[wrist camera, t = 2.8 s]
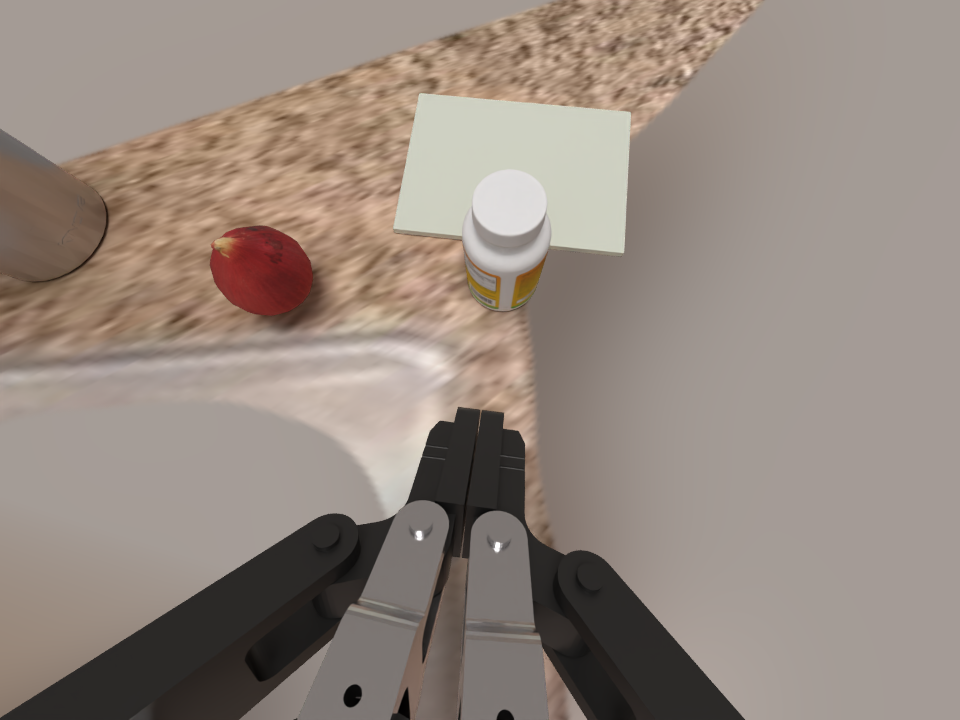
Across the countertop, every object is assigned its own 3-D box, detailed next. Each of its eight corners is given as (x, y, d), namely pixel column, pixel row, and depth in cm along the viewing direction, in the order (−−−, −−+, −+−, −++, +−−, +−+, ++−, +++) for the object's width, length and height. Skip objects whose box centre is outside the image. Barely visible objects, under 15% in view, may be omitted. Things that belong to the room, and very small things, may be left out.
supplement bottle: (534, 247, 29) (558, 154, 20) (539, 311, 28) (566, 246, 19) (466, 249, 29) (457, 158, 20) (468, 314, 28) (458, 250, 19)
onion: (282, 247, 30) (209, 178, 22) (343, 276, 29) (291, 216, 21) (241, 309, 29) (149, 260, 21) (304, 341, 28) (234, 302, 20)
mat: (394, 232, 30) (393, 228, 29) (420, 99, 32) (419, 93, 32) (621, 256, 29) (624, 253, 28) (628, 117, 32) (630, 112, 31)
